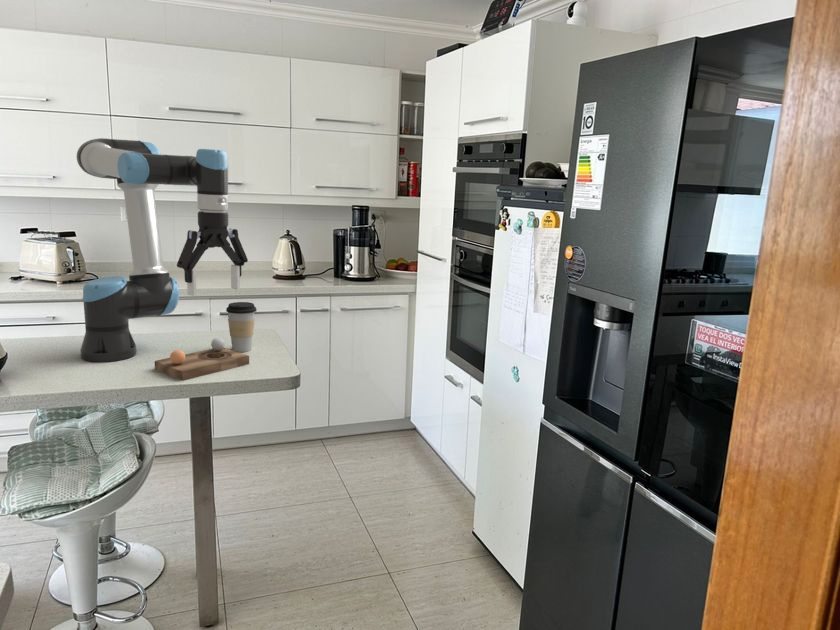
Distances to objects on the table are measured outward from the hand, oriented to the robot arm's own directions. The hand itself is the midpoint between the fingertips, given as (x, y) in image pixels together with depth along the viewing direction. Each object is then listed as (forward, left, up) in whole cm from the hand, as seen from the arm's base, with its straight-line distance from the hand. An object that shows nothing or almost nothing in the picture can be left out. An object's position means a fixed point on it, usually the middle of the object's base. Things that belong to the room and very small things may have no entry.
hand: (214, 291), depth 163 cm
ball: (-13, -3, -20) cm, 24 cm away
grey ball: (-17, +13, -20) cm, 29 cm away
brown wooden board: (-13, +5, -25) cm, 28 cm away
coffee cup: (-20, +24, -25) cm, 40 cm away
